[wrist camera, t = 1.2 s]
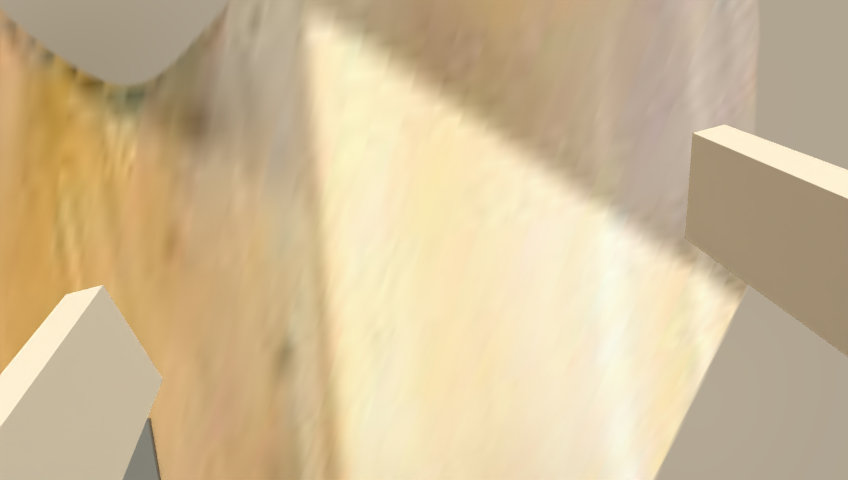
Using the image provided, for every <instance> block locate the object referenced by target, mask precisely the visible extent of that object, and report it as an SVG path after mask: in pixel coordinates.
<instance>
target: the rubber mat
mask: <svg viewBox="0 0 848 480" xmlns="http://www.w3.org/2000/svg"><path fill="white" fill-rule="evenodd" d="M122 480H161V479H160V473H159V468H158V462H157V456H156V450H155V444H154V439H153V433H152V427H151V421H150V418H148V419H147V420H146V423H145V425H144V428H143V430H142V433H141V435H140V437H139V440H138V442H137V445H136V447H135V450H134V452H133V455H132V457H131V460H130V462H129V465H128V467H127V470H126V472H125V475H124V477H123V479H122Z"/></svg>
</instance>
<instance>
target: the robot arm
mask: <svg viewBox="0 0 848 480" xmlns="http://www.w3.org/2000/svg"><path fill="white" fill-rule="evenodd" d="M685 239H687V240H688V241H690V242H691V243H692V244H694V245H695V246H696V247H698V248H699V249H701V250H702V251H703V252H705V253H706V254H707V255H709V256H710V257H712V258H713V259H714V260H716V261H717V262H718V263H720V264H721V265H723V266H724V267H725V268H727V269H728V270H729V271H731V272H732V273H734V274H735V275H736V276H738V277H739V278H740V279H742V280H743V281H745V282H746V283H747V284H749V285H750V286H751V287H753V288H754V289H756V290H757V291H758V292H760V293H761V294H762V295H764V296H765V297H767V298H768V299H769V300H771V301H772V302H773V303H775V304H776V305H778V306H779V307H780V308H782V309H783V310H785V311H786V312H787V313H789V314H790V315H791V316H793V317H794V318H796V319H797V320H798V321H800V322H801V323H803V324H804V325H805V326H806V327H808V328H809V329H811V330H812V331H813V332H815V333H816V334H817V335H819V336H820V337H822V338H823V339H825V340H826V341H827V342H828V343H830V344H831V345H833V346H834V347H835V348H837V349H838V350H839V351H841V352H842V353H844V354H845V355H846V356H848V170H846V169H843V168H841V167H838V166H835V165H832V164H830V163H827V162H824V161H822V160H819V159H816V158H814V157H811V156H808V155H805V154H803V153H800V152H797V151H795V150H792V149H789V148H786V147H784V146H781V145H778V144H775V143H773V142H770V141H767V140H765V139H762V138H759V137H757V136H754V135H751V134H749V133H746V132H743V131H741V130H738V129H735V128H732V127H730V126H727V125H722V126H718V127H714V128H710V129H706V130H702V131H698V132H694V133H693V137H692V150H691V164H690V177H689V191H688V204H687V217H686V231H685ZM162 381H163V378H162V377H161V375H160V374H159V372H158V371H157V369H156V367H155V366H154V364H153V363H152V361H151V360H150V358H149V356H148V355H147V353H146V352H145V350H144V349H143V347H142V345H141V344H140V342H139V341H138V339H137V338H136V336H135V334H134V333H133V331H132V330H131V328H130V326H129V325H128V323H127V322H126V320H125V319H124V317H123V315H122V314H121V312H120V311H119V309H118V308H117V306H116V304H115V303H114V301H113V300H112V298H111V297H110V295H109V293H108V292H107V290H106V289H105V287H104V286H103V285H101V286H97V287H93V288H90V289H86V290H82V291H78V292H74V293H70V294H66V295H65V297H64V298H63V299H62V300H61V301H60V303H59V304H58V305H57V306H56V307H55V309H54V310H53V311H52V312H51V314H50V315H49V316H48V317H47V318H46V320H45V321H44V322H43V323H42V325H41V326H40V327H39V328H38V329H37V331H36V332H35V333H34V334H33V336H32V337H31V338H30V339H29V340H28V342H27V343H26V344H25V345H24V347H23V348H22V349H21V350H20V351H19V353H18V354H17V355H16V356H15V358H14V359H13V360H12V361H11V362H10V364H9V365H8V366H7V367H6V369H5V370H4V371H3V372H2V373H1V375H0V480H122V479H123V477H124V475H125V472H126V470H127V467H128V465H129V462H130V460H131V457H132V455H133V452H134V450H135V447H136V445H137V442H138V440H139V437H140V435H141V433H142V430H143V428H144V425H145V423H146V420H147V418H148V415H149V413H150V410H151V408H152V405H153V403H154V400H155V398H156V396H157V393H158V391H159V388H160V386H161V383H162Z"/></svg>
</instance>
